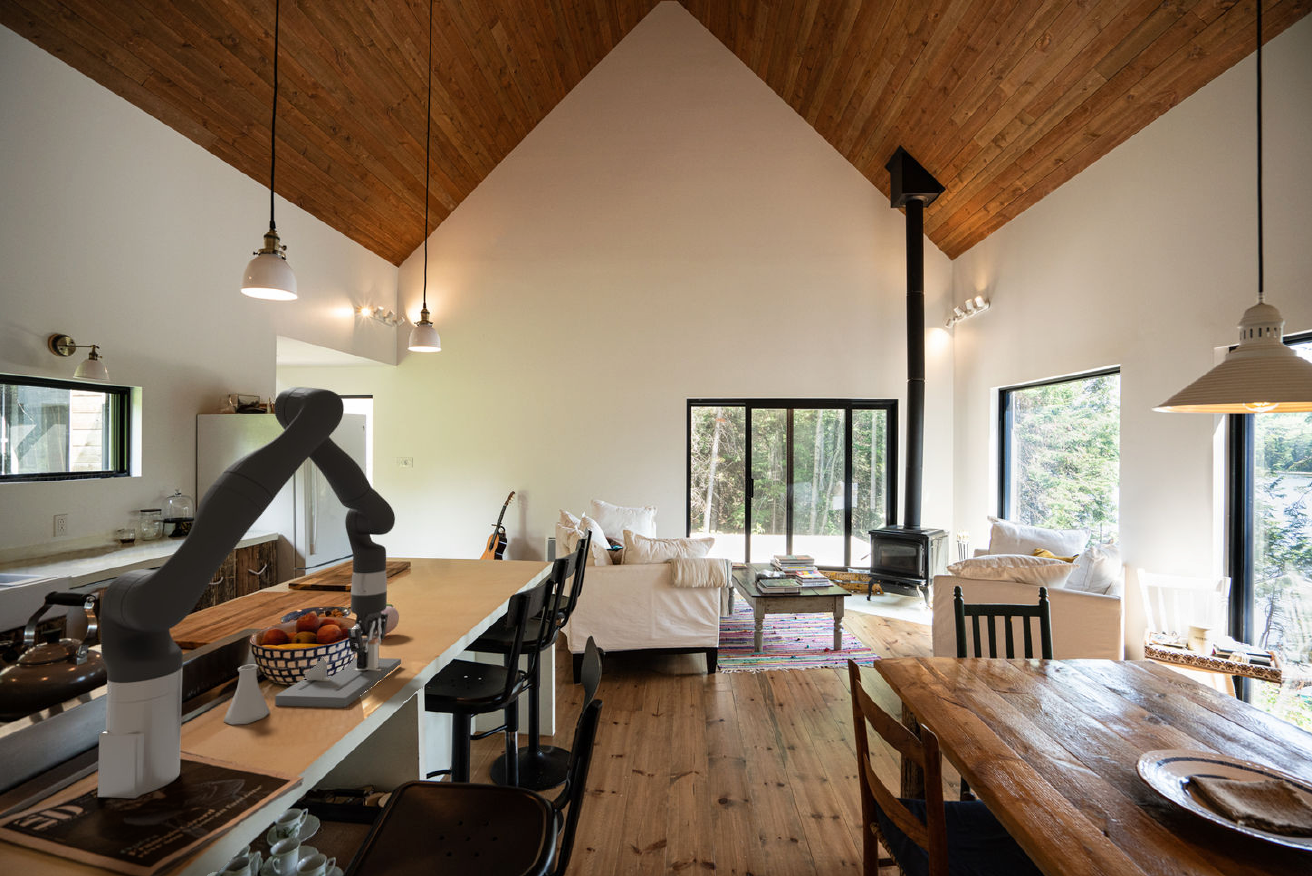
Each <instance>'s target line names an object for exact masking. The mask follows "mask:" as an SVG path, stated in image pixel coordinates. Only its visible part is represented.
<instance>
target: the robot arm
mask: <svg viewBox="0 0 1312 876" xmlns="http://www.w3.org/2000/svg"><path fill="white" fill-rule="evenodd" d="M344 405H345V404H344V402H343V400H342V397H341V396H340V395H339V394H338V393H336V392H335V391H332V390H330V389H324V388H318V387H317V388H316V387H306V386H305V387H300V386H295V387H288V388H285V389H284V390H282V391H281V392H280V393H278V395H277V397H276V398H275V401H274V406H273V411H274V415H275V417H276V420H277V422H278V423H279V425H280V426H281V427H282V428H283V429H284V430H283V431H282V432H281V433H280V434H279V435H278V436H277V437H275V438H274V439H272V440H271V441H269V442H267V443H265V444H264V445H262V446H260V447H258V448H256V449H255V450H253V451H252V452H251V451H250V452H249V453H247V454H246V455H244V456H243V457H240V458H239V459H238V460H236V461H234V462H233V463H232V464H231V465H230V466H228V467H227V468H226V469H225V470H224V471H223V472H222V474H221V475H219V477H218V478H217V479H216V480H215V482H213V483H212V485H210V487H209V488H208V489H207V491H206V492H205V493H204V494H203V496H202V498H201V500H200V502H199V505H197V507H198V508H197V510H196V512H195V516H194V518H193V522H192V525H191V528H190V531H189V533H188V535H187V536H186V538H185V539H184V541H183V542H182V544H181V545H180V546H179V547H178V548H177V550H176V551H175V552H174V553H173V554H172V555H171V556H170V557H169V559H167V560H166V562H165V563H163V564H162V565H161V567H159V568H158V569H157V570H154V569H148V568H147V569H145V568H144V569H132V570H130V571H126V572H124V573H122V574H121V575H119V576H117V577H116V578H115V579H113V580H112V581H111V583H110V584H109V585H108V586H107V587H106V590H105V591H104V594H103V597H102V598H101V605H100V651H101V652H100V653H101V658H102V661H103V663H104V665H105V667H106V673H107V675H106V678H107V679H106V681H107V682H106V706H105V707H106V708H105V711H106V712H105V731H102V732H101V733H99V736H98V739H99V740H98V765H97V766H98V767H97V768H98V769H97V770H98V772H97V775H98V776H97V798H115V799H116V798H117V799H137V798H138V797H140V796H142V795H144V794H148V793H150V792H154V791H157V790H159V789H161V788H163V787H165V786H168V785H170V783H171V784H172V782H174V781H175V780H176V779H177V778H178V777H179V776H180V773H181V748H182V747H181V745H182V744H181V742H182V740H181V739H182V737H181V736H182V735H181V734H182V733H181V732H182V700H183V699H182V695H183V694H182V693H183V661H184V660H183V658H184V655H183V654H184V653H183V650H182V649H181V647H180V646H179V645H178V644H177V643H176V642H175V641H174V638H173V637H172V635H171V632H170V629H172V628H174V627H176V626H177V625H179V624H180V623H181V622H182V621H184V619H186V618H187V617H188V615H189V614H190V613H191V612H192V611H193V609H194V608H195V606H196V605H197V603H198V602H199V600H200V598H201V597H202V596H203V594H204V592H205V591H206V589H207V587H208V586H209V584H210V583H211V581H212V580H213V578H214V577H215V575H216V574H217V572H218V571H219V569H220V567H222V565H223V564H224V562H225V561H226V559H227V558H228V556H230V554H231V553H232V552H233V551H234V549H235V548H236V547H237V545H238V544H239V543H240V542H241V540H242V539H243V538H244V536H245V535H246V533H248V531H249V530H250V529H251V528H252V526H253V525H254V523H256V521H257V520H258V519H259V518H260V517H261V516H262V515H263V514H264V513H265V511H266V510H267V509H268V507H269V506H270V504H271V503H272V502H273V501H274V499H275V498H276V496H278V494H279V492H280V491H281V490H282V489H283V488H284V486H285V485H286V484H287V483H288V482H289V480H290V479H291V478H292V477H293V475H294V474H295V473H297V471H298V469H300V467H301V466H302V464H304V462H305V461H306V460H307V459H308V458H309V459H310V460H311V461H312V463H314V465H315V466H316V468H317V469H318V470H319V471H320V472H321V473H322V475H323V477H324V478H325V479H326V480H327V482H328V484H329V485H330V487H331V488H332V490H333V492H334V495H335V496H336V497H337V500H339V502H340V503H341V505H342V506H343V507H345V508H347V509H348V511H347V513H346V516H345V520H344V522H345V523H344V525H345V529H346V530H345V531H346V533H347V538H348V540H349V544H350V549H351V552H352V575H351V583H350V584H351V587H350V588H351V589H350V612H351V613H352V614H355V615H356V616H355V617H356V618H355V621H354V622H355V623H354V626H353V627H348V628H347V637H348V643H349V649H350V652H351V653H355V654H356V658H357V668H358V669H365V668H367V667H368V652H367V651H368V646H369V642H370V641H371V640H372V637H375V638H379V646H378V660H379V658H380V656H379V654H380V651H379V650H380V645H381V643H382V640H384V639H385V637H386V635H385V632H386V625H387V619H388V614H384V613H381V612H382V611H384V610H385V609H386V607H387V604H388V602H387V601H388V600H387V598H388V596H387V595H388V593H387V592H388V589H387V588H388V577H387V550H386V547H385V546H384V545H381V544H379V543H376V542H375V541H373V540H372V537H371V536H373V535H374V536H375V535H376V536H382V535H383V536H384V535H387V534H388V533H389V532H391V531H392V529H394V528H393V527H394V526H395V523H396V516H395V513H394V509H393V508H392V506H391V505H390V504H389V502H387V500H385V499H384V498H383V497H382V496H381V494H379V492H377V491H376V490H375V489H374V488H372V485H371V483H370V482H369V480H368V478H367V477H366V475H365V473H364V471H363V470H362V467H361V466H360V465H359V464H358V463H357V462H356V460H354V458H352V457H351V456H350V455H349V454H348V453H346V451H344V450H343V449H342V448H341V447H340V446H338V445H337V443H336V442H334V441H333V439H332V438H331V437H330V435H332V434H333V433H334V432H335V430H336V429H337V428H338V427H339V425H340V423H341V422H342V418H343V415H344V411H345V408H344V407H345V406H344ZM381 629H382V630H381ZM362 637H366V638H362ZM363 641H364V646H363Z"/></svg>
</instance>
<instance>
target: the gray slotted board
mask: <svg viewBox="0 0 1312 876" xmlns="http://www.w3.org/2000/svg"><path fill="white" fill-rule="evenodd" d="M353 658H354V659H353V661H351V663H350V664H349V665H348V666H347V667H346V668H345V669H344V670H342V671H339V672H338V673H336V674H335V675H333V676H330V677H327V678H325V679H323V680H302V679H301V680H300V681H298V682H297V683H295V684H293V685H291V686H289V687H288V688H286V689H284V690H283V691H281V692H278V693H277V694H275V695H274V696H275V697H274V706H280V707H281V706H284V707H285V706H286V707H314V708H315V707H316V708H317V707H318V708H343V707H345V708H347V707H348V706H350V705H351V704H352V703H354V702H355V701H356V700H358V699H359V698H360V697H359V696H360V695H362V694H363V693H364V692H365V691H367V690H369V689H370V688H371V687H373V686H374V685H375V684H376V683H377V682H378V681H380V680H382V679H383V678H384V677H385V676H386V675H387V674H388V673H390V672H391V671H393V670H394V669H395V668H396V667H397V666H398V665H400V664H401V665H402V659H401V658H386V657H385V658H381V657H379V660H378V668H376V669H375V670H363V669H357V657H353ZM374 687H375V686H374ZM374 687H373V688H374ZM370 690H371V689H370ZM370 690H369V691H370ZM367 692H368V691H367ZM363 695H364V694H363ZM363 695H362V696H363ZM358 697H359V698H358ZM357 698H358V699H357ZM354 700H355V701H354ZM353 701H354V702H353ZM351 702H352V703H351ZM350 703H351V704H350ZM349 704H350V705H349ZM346 706H347V707H346Z"/></svg>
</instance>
